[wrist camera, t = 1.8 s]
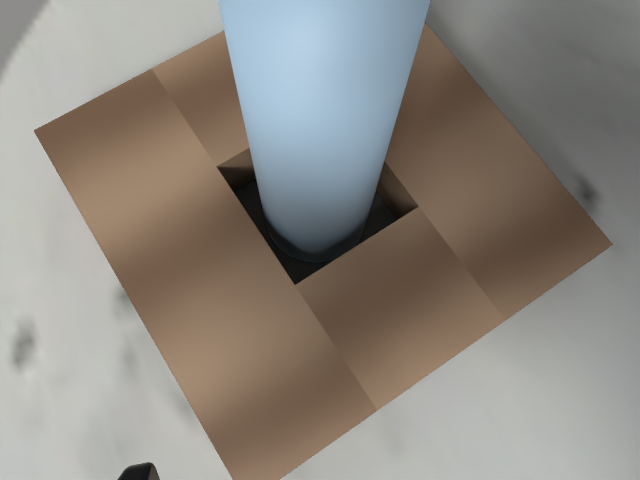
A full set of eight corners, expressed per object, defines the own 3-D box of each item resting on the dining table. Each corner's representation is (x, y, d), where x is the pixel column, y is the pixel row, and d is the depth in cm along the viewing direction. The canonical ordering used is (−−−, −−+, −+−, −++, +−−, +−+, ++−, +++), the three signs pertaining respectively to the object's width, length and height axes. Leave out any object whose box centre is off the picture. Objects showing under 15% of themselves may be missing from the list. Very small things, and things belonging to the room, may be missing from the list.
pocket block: (576, 265, 24) (612, 244, 21) (254, 492, 21) (246, 502, 18) (362, 2, 28) (368, -46, 25) (64, 163, 25) (33, 130, 22)
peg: (386, 227, 25) (479, -3, 11) (300, 282, 24) (290, 104, 10) (330, 150, 26) (352, -145, 12) (246, 199, 25) (173, -58, 11)
